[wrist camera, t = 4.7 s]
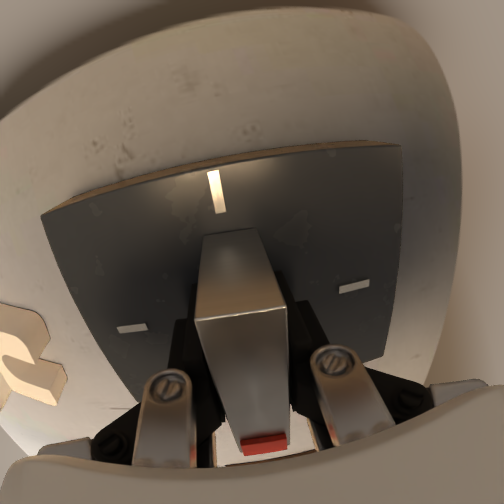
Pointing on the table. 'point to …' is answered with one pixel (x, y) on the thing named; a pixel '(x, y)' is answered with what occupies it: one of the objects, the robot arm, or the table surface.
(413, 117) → the table surface
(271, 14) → the table surface
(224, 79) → the table surface
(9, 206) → the table surface
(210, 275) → the tap handle
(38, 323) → the slotted bracket
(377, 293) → the plate
